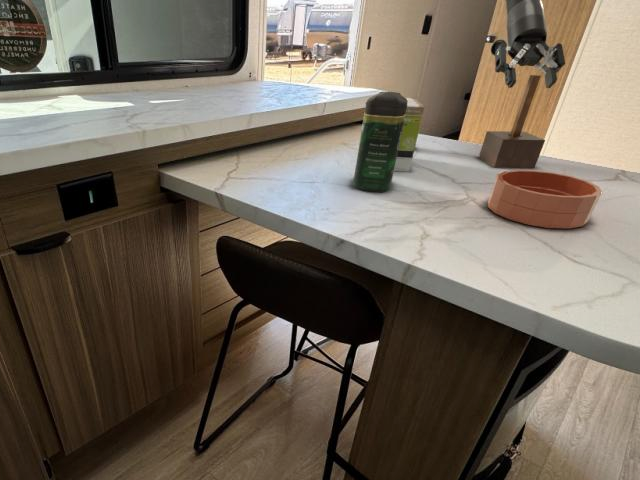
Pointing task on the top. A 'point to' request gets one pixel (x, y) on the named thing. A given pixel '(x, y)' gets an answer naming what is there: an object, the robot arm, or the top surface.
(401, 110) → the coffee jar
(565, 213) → the bowl
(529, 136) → the block
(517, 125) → the stirring stick
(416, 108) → the tea box
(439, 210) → the top surface
